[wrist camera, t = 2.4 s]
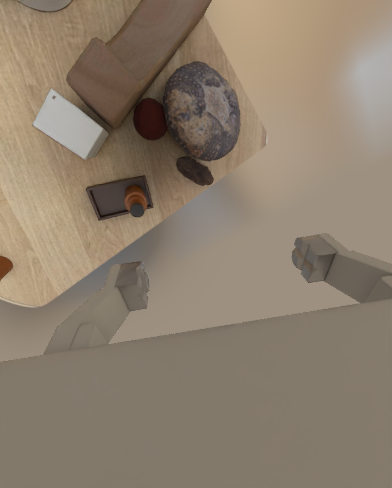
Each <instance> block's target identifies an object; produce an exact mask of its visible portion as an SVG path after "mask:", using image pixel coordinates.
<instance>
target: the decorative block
mask: <svg viewBox="0 0 392 488" xmlns="http://www.w3.org/2000/svg"><path fill="white" fill-rule="evenodd" d="M211 1H212V0H141V2H140V3H139V5H138V6H137V7H136V9H135V10H134V12H133V13H132V14H131V16H130V17H129V19H128V20H127V21H126V23H125V24H124V25H123V26H122V28H121V29H120V30H119V32H118V33H117V34H116V35H115V36H114V37H113V38H112V39H111V40H110V41H109V42H108V43H107V44H106V45H105V44H104V43H103V41H102V40H101V39H99V38H97V37H95V38H93V39H92V40H91V41H90V43H89V44H88V46H87V47H86V48H85V50H84V51H83V53H82V54H81V56H80V57H79V58H78V60H77V61H76V63H75V64H74V66H73V67H72V69H71V70H70V71H69V73H68V74H67V79H66V80H67V82H68V84H69V85H70V86H71V88H72V89H73V90H74V91H75V92H76V93H77V95H78V96H79V97H80V98H81V99H82V100H83V102H84V103H85V104H86V105H87V106H88V107H89V108H90V109H92V110H93V111H94V112H95V113H96V114H97V115H98V116H99V117H100V118H101V119H102V120H104V121H105V122H106V123H107V124H108V125H109V126H110V127H111V128H112V129H116V128H118V127H119V126H120V124H121V123H122V122H123V120H124V119H125V118H126V116H127V115H128V114H129V113H130V111H131V110H132V109H133V107H134V106H135V105H136V103H137V102H138V101H139V99H140V98H141V97H142V95H143V94H144V93H145V91H146V90H147V89H148V87H149V86H150V85H151V84H152V82H153V81H154V80H155V78H156V77H157V76H158V74H159V73H160V72H161V70H162V69H163V68H164V66H165V65H166V64H167V62H168V61H169V60H170V58H171V57H172V56H173V55H174V53H175V52H176V51H177V49H178V48H179V47H180V45H181V44H182V43H183V41H184V40H185V39H186V37H187V36H188V35H189V33H190V32H191V31H192V29H193V28H194V27H195V26H196V24H197V23H198V22H199V20H200V19H201V18H202V16H203V15H204V13H205V11H206V10H207V8H208V6H209V4H210V3H211Z"/></svg>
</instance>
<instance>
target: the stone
mask: <svg viewBox="0 0 392 488" xmlns="http://www.w3.org/2000/svg"><path fill="white" fill-rule="evenodd" d="M177 168H178V170H179V171H180V172H181V173H182V174H183V175H184V176H185V177H187V178H189V179H191V180H193V181H194V182H195V183H197V184H199V185H203V186H204V185H210V184H212V182H213V177H212V175H211V172H210V171H209V169H208V167H205V166H203V165H201V164H200V163H197V162H196V161H195V160H194V159H192V158H189V157H183V158H179V159H178V160H177Z"/></svg>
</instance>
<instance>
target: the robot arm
mask: <svg viewBox="0 0 392 488" xmlns="http://www.w3.org/2000/svg"><path fill="white" fill-rule="evenodd" d="M18 1H19V2H21V3H23V4H24V5H26V6H29V7H31V8H34V9H37V10H41V11H56V10H60V9H62V8H64V7H65V6H67V5H68V4H69V3H70V2H71V1H72V0H18ZM294 245H295V246H296V248H295V249H294V250H293V252H292V261H293V263H294V265H295V266H296V268H298V269H300V270H302V271H301V274H302V276H303V277H304V278H305V279H306V281H307V282H308V283H311V282H318V281H325V282H326V283H328V284H330V285H331V286H333V287H335V288H336V289H338V290H340V291H341V292H343V293H345V294H347V295H348V296H350V297H351V298H353V299H355V300H356V301H358V302H360V304H354V305H347V306H341V307H335V308H329V309H323V310H317V311H310V312H305V313H299V314H292V315H286V316H280V317H274V318H267V319H261V320H255V321H249V322H243V323H237V324H230V325H224V326H219V327H212V328H206V329H200V330H194V331H187V332H181V333H175V334H169V335H163V336H157V337H151V338H144V339H138V340H132V341H126V342H120V343H114V344H108V343H109V341H110V340H111V338H112V337H113V336H114V334H115V333H116V331H117V330H118V329H119V327H120V326H121V324H122V323H123V321H124V320H125V319H126V317H127V316H128V315H129V313H130V311H135V310H140V309H146V308H147V302H148V296H147V294H146V293H147V292H148V291H149V280H148V275H147V273H145V272H144V264H143V262H142V261H140V262H132V263H125V264H118V265H113V266H111V268H110V271H109V273H108V276H107V279H106V282H105V284H104V287H103V289H100V290H99V291H98V292H96V293H95V294H94V295H93V296H92V297H91V298H90V299H89V300H87V301H86V302H85V303H84V304H83V305H82V306H81V307H80V308H78V309H77V310H76V311H75V312H74V313H73V314H72V315H70V316H69V317H68V318H67V319H66V320H65V321H64V322H63V323H61V325H59V326H58V327H57V329H56V330H55V333H54V334H53V336H52V338H51V341H50V343H49V345H48V346H47V349H46V350H45V352H44V355H40V356H34V357H28V358H22V359H16V360H9V361H3V362H0V488H392V264H390V263H387V262H384V261H381V260H379V259H375V258H373V257H369V256H367V255H364V254H361V253H358V252H355V251H349V250H347V249H346V248H345V247H344V246H342V245H341V244H340V243H339V242H338V241H336V240H335V239H334V238H333V237H331V236H330V235H329V234H327V233H323V234H318V235H313V236H307V237H300V238H297V239H296V240H295V243H294Z"/></svg>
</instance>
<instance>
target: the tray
mask: <svg viewBox="0 0 392 488" xmlns="http://www.w3.org/2000/svg"><path fill="white" fill-rule="evenodd" d="M131 185H137V186H139V187H140V188H141V189H142V190H143V192H144V195H145V197H146V200H147V208H146V209H150V208H154V207H153V203H152V199H151V196H150V192H149V188H148V184H147V180H146V177H145V175H144V176H139V177H134V178H129V179H124V180H119V181H114V182H110V183H105V184H100V185H95V186H90V187H87V188H86V191H87V193H88V196H89V198H90V201H91V203H92V205H93V208H94V210H95V213H96V215H97V218H98V220H99V221H100V220H104V219H108V218H112V217H117V216H121V215H125V214H129V213H131V212H129V211H128V210H127V209H126V207H125V204H124V201H125V190H126V189H127V188H128V187H129V186H131ZM146 209H145V210H146Z"/></svg>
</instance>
